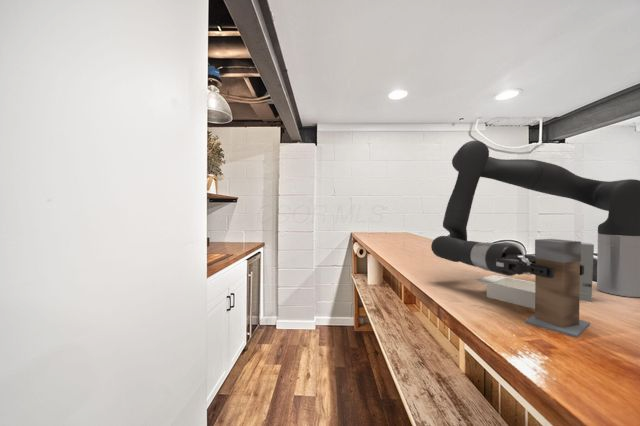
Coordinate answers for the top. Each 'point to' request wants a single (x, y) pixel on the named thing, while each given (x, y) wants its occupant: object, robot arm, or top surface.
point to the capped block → (558, 282)
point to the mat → (570, 331)
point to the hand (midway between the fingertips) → (568, 271)
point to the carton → (510, 290)
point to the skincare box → (586, 271)
